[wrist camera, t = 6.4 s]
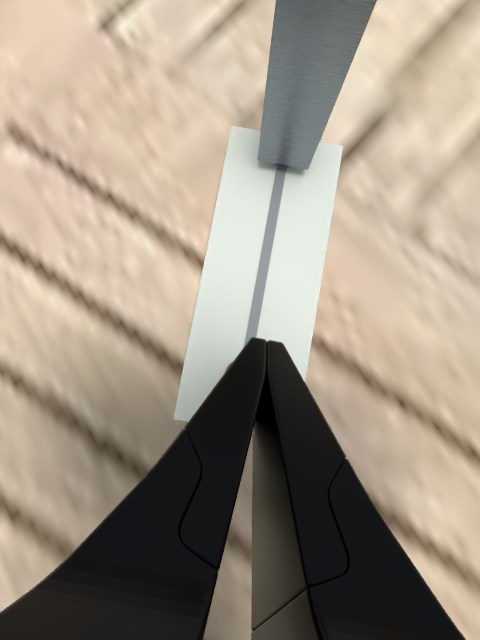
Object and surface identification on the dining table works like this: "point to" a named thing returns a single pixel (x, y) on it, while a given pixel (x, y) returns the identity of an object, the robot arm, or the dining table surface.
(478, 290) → the dining table surface
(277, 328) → the bolt plate
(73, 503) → the dining table surface
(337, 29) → the gray metal block
